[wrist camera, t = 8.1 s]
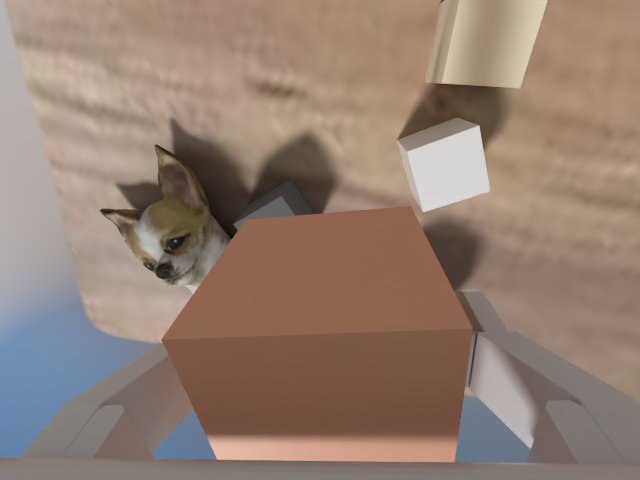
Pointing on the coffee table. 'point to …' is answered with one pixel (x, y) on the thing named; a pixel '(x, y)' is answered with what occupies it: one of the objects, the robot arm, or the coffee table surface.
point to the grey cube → (445, 163)
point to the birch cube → (483, 41)
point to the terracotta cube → (326, 342)
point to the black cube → (276, 204)
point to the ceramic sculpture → (174, 227)
